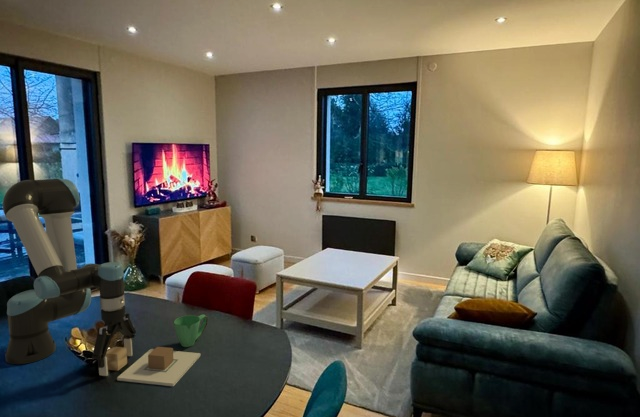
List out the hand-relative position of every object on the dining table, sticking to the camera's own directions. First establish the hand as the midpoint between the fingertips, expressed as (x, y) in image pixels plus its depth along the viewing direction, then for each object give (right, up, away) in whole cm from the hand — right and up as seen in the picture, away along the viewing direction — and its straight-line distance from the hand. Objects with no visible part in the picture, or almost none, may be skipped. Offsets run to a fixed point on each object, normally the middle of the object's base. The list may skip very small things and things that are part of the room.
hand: (116, 364), depth 140 cm
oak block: (0, -1, 0) cm, 1 cm away
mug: (+21, +1, +19) cm, 28 cm away
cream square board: (+16, -1, 0) cm, 16 cm away
